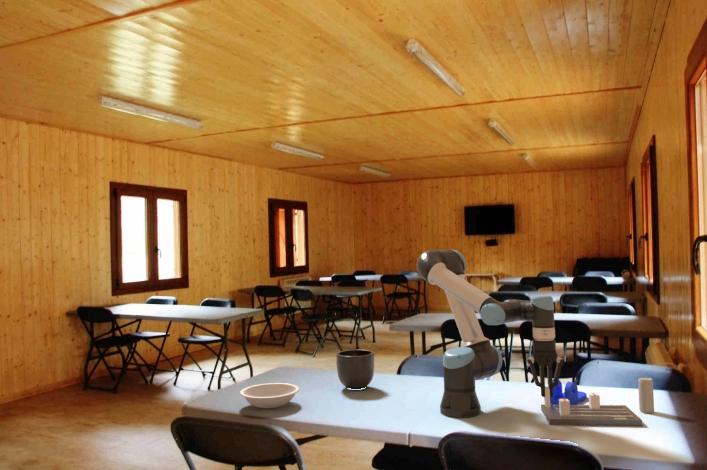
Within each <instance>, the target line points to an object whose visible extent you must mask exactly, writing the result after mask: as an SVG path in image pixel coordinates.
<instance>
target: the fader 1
mask: <svg viewBox="0 0 707 470" xmlns="http://www.w3.org/2000/svg"><path fill="white" fill-rule="evenodd" d="M559 413H560V415H570V401H569V400H568V399H564V398H562V399H559Z"/></svg>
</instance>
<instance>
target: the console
mask: <svg viewBox="0 0 707 470" xmlns="http://www.w3.org/2000/svg"><path fill="white" fill-rule="evenodd" d="M540 410H541V412H542V414H543V416H545V419H546V420H547V422H548V424H549V425H551V426H595V427H596V426H602V427H603V426H608V427H611V426H612V427H614V426H615V427H643V420H642V419H641V418H640V416H638V415H637V414H636V413H634V411H633V410H631V409H630V408H629V407H628V406H627V405H625V404H624V405H623V404H620V405H619V404H617V405H616V404H614V405H613V404H600V409H591V408H590V407H589V404H577V405H570V415H560V413H559V405H552V404H550V407H546V406H545V404H540Z"/></svg>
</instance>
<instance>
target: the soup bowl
mask: <svg viewBox="0 0 707 470" xmlns="http://www.w3.org/2000/svg"><path fill="white" fill-rule="evenodd" d="M299 391H300V386H298V385H296V384H292V383H286V382H285V383H284V382H268V383H260V384H259V383H258V384H255V385H254V384H253V385H250V386H248V387H247V386H246V387H244V388H243V389H240V392H239V395H240V396H242V397H243V398H244V400H245V401H247V403H248V404H250V405H251V406H253V407H255V408H260V409H274V408H278V407H283V406H285V405H286V404H288V403H290V401H292V400H293V398H294V397H295V395H296V393H298V392H299Z"/></svg>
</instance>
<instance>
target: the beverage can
mask: <svg viewBox="0 0 707 470" xmlns="http://www.w3.org/2000/svg"><path fill="white" fill-rule="evenodd" d="M637 382H638V383H637V384H638V387H637V388H638V403H639V404H638V405H639V406H638V407H639V411H640V412H641V413H643V414H653V413H654V412H655V404H654V403H655V401H654V400H655V398H654V381H653V378H651V377H645V376H644V377H638V381H637Z"/></svg>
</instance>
